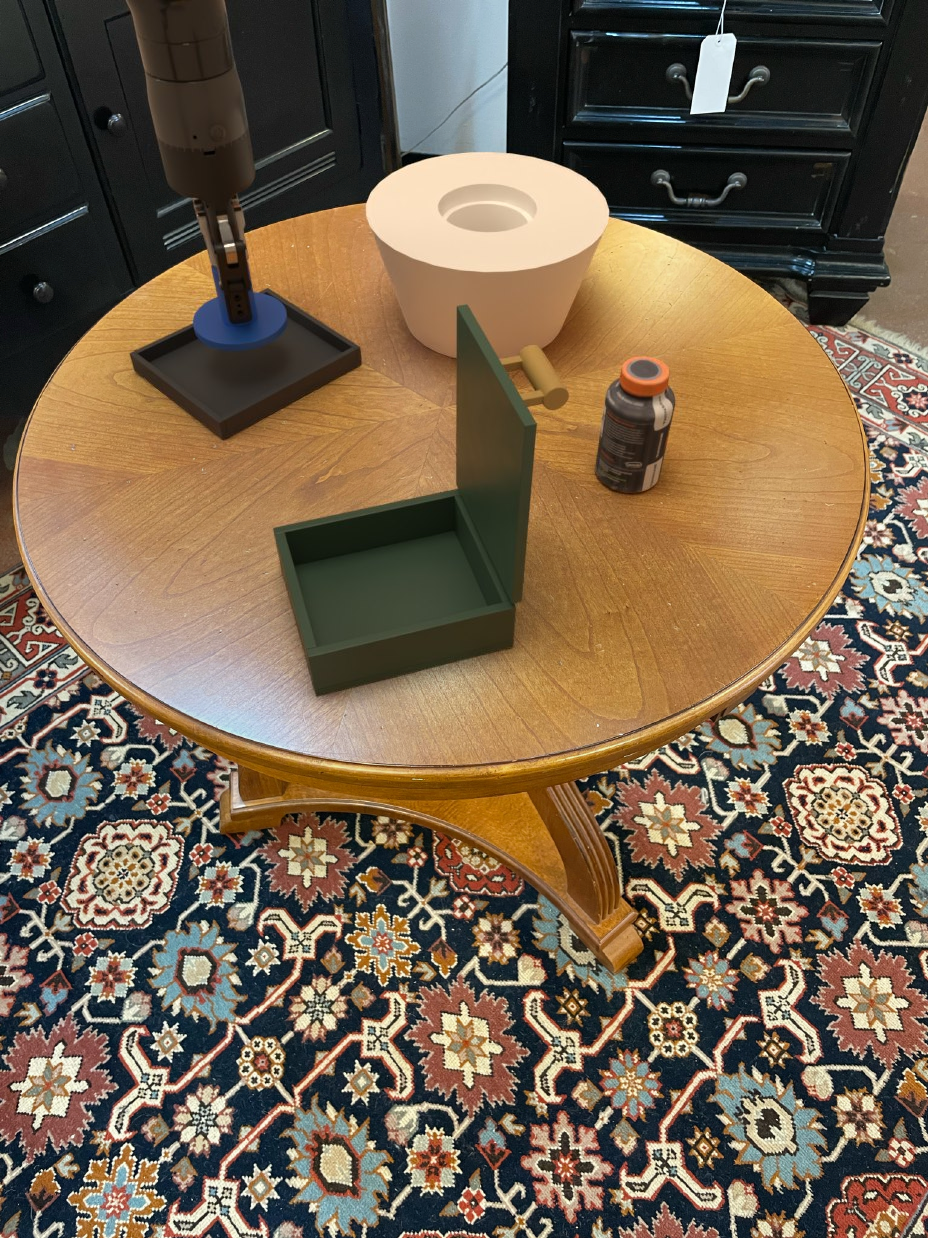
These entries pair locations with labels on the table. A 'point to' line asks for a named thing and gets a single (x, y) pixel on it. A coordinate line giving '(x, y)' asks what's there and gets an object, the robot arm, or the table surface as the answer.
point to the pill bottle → (635, 426)
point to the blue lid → (243, 336)
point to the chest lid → (499, 442)
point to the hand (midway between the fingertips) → (237, 308)
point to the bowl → (486, 245)
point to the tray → (246, 371)
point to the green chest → (392, 590)
